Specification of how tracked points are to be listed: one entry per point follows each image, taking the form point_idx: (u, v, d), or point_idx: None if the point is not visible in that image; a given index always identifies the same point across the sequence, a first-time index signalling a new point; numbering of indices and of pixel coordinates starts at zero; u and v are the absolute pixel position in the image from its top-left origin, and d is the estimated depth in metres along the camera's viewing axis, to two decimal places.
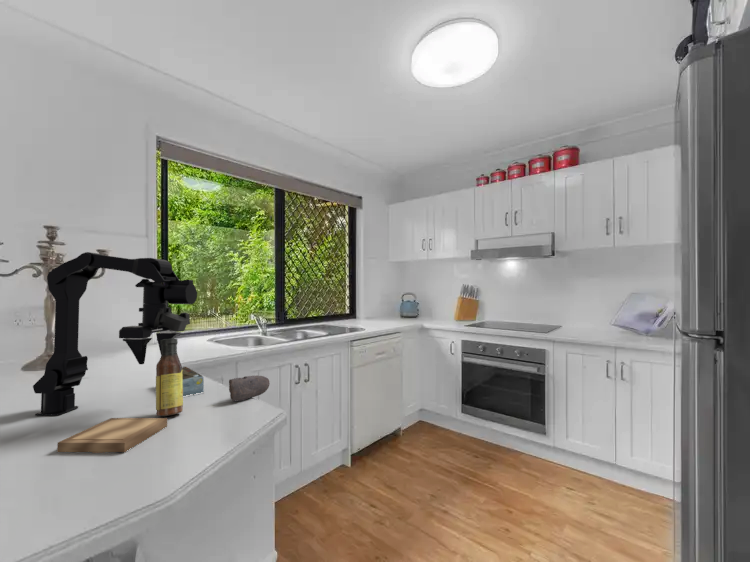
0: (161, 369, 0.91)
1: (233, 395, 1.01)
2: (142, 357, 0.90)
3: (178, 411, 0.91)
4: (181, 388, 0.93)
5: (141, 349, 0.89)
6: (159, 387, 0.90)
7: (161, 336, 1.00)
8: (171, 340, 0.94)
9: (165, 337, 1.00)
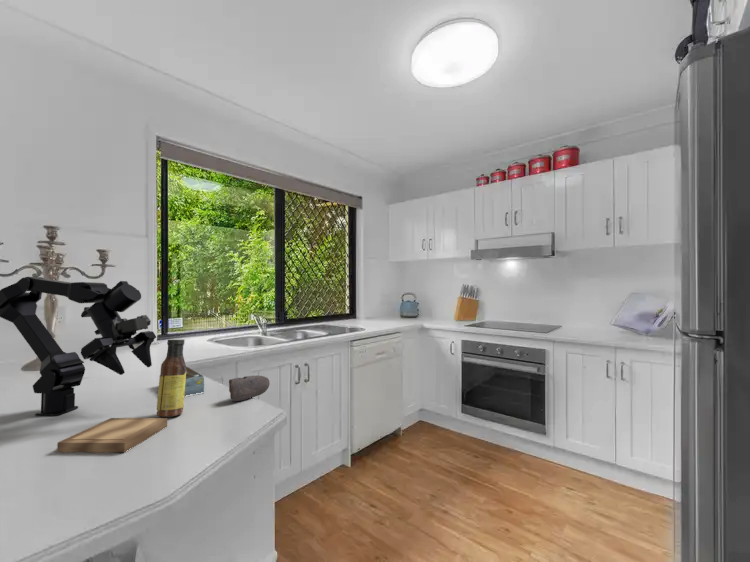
0: (165, 369, 0.90)
1: (233, 395, 1.01)
2: (118, 366, 0.88)
3: (178, 413, 0.91)
4: (183, 390, 0.93)
5: (112, 359, 0.87)
6: (162, 388, 0.90)
7: (137, 350, 0.98)
8: (178, 341, 0.93)
9: (140, 349, 0.98)
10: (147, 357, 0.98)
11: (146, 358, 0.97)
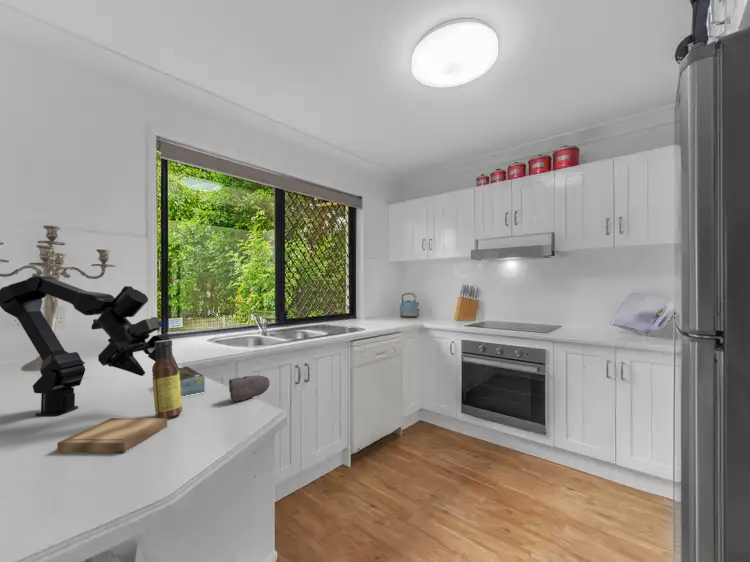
0: (157, 372, 0.89)
1: (233, 395, 1.01)
2: (138, 368, 0.87)
3: (177, 413, 0.91)
4: (179, 390, 0.92)
5: (131, 362, 0.87)
6: (156, 391, 0.89)
7: (153, 354, 0.98)
8: (165, 342, 0.91)
9: None
10: None
11: None
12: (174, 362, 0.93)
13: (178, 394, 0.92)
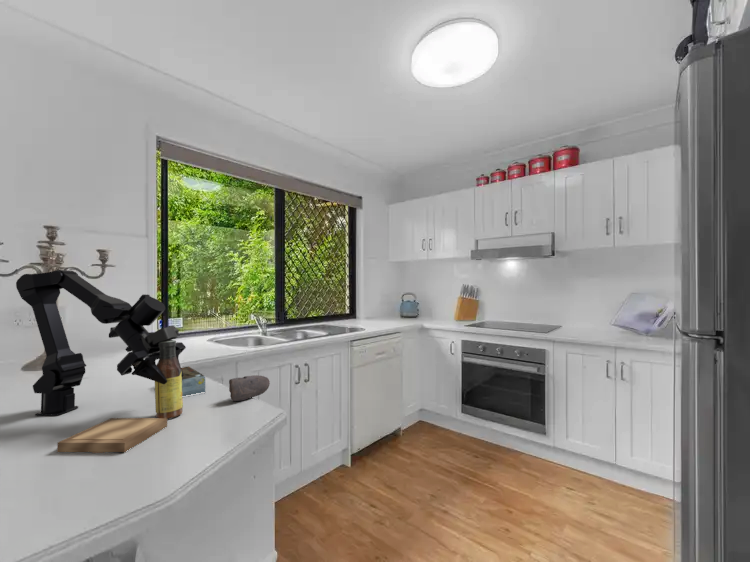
0: None
1: (233, 395, 1.01)
2: (161, 376, 0.88)
3: (177, 414, 0.91)
4: (180, 391, 0.92)
5: (154, 370, 0.88)
6: (158, 391, 0.89)
7: None
8: (169, 343, 0.91)
9: None
10: None
11: None
12: (177, 363, 0.92)
13: (179, 395, 0.91)
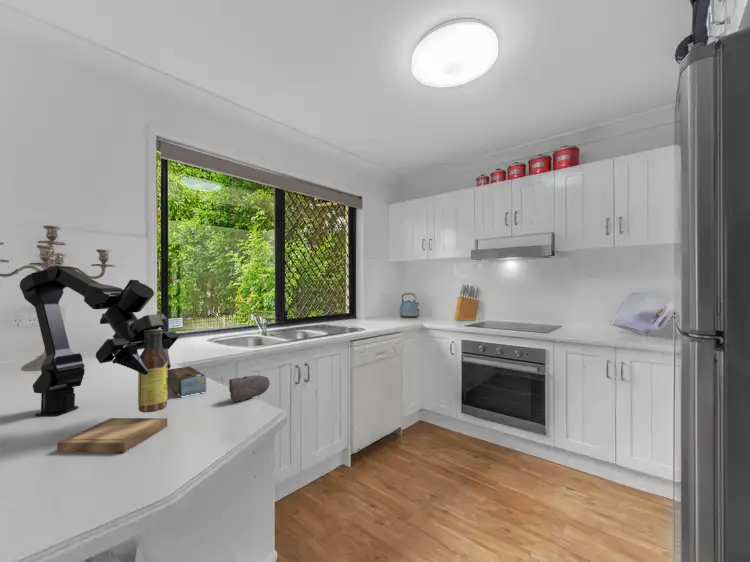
0: None
1: (233, 395, 1.01)
2: (141, 366, 0.83)
3: (159, 408, 0.85)
4: (164, 383, 0.86)
5: (134, 359, 0.83)
6: (140, 382, 0.84)
7: None
8: (153, 332, 0.86)
9: None
10: None
11: None
12: (162, 353, 0.87)
13: (162, 388, 0.85)
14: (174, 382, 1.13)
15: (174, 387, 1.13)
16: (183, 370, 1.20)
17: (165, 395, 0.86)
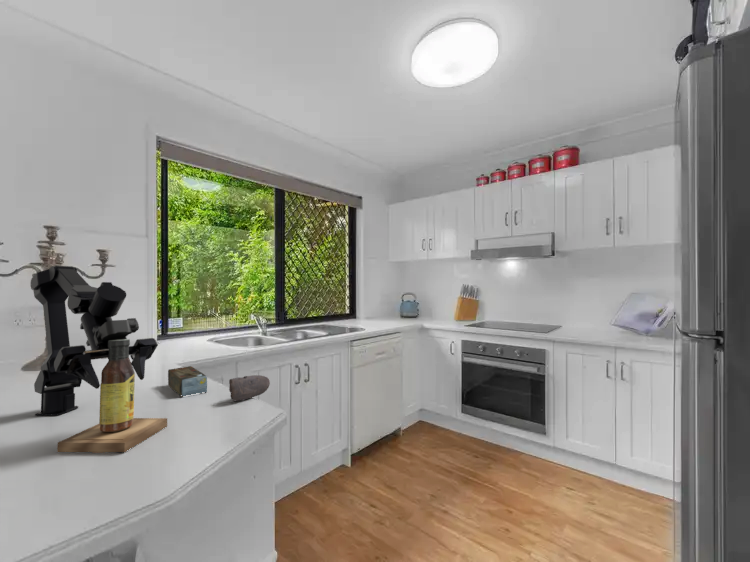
0: (102, 376, 0.76)
1: (233, 395, 1.01)
2: (92, 378, 0.73)
3: (119, 428, 0.76)
4: (126, 401, 0.77)
5: (86, 371, 0.74)
6: (100, 398, 0.76)
7: (134, 361, 0.84)
8: (115, 342, 0.77)
9: (136, 359, 0.84)
10: (140, 368, 0.82)
11: (139, 369, 0.82)
12: (126, 367, 0.78)
13: (123, 406, 0.76)
14: (175, 382, 1.13)
15: (175, 387, 1.14)
16: (184, 370, 1.20)
17: (127, 414, 0.77)
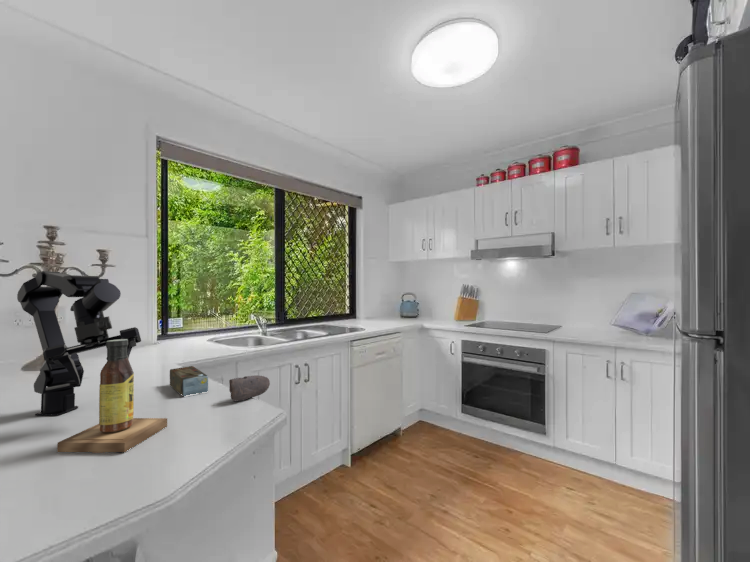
0: (101, 377, 0.76)
1: (233, 395, 1.01)
2: (72, 377, 0.82)
3: (118, 429, 0.76)
4: (125, 401, 0.77)
5: None
6: (99, 398, 0.76)
7: None
8: (113, 343, 0.77)
9: None
10: None
11: None
12: (124, 367, 0.78)
13: (122, 406, 0.76)
14: (176, 382, 1.14)
15: (176, 387, 1.14)
16: (186, 370, 1.20)
17: (127, 414, 0.77)
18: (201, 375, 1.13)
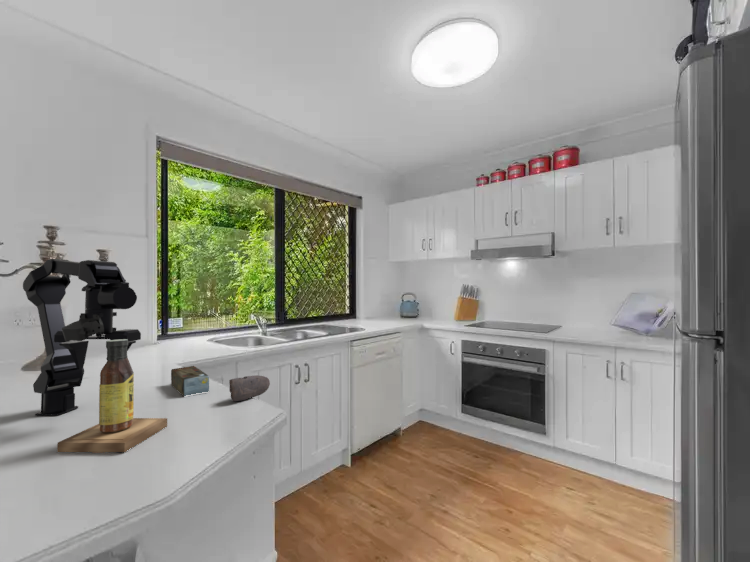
0: (101, 377, 0.76)
1: (234, 395, 1.01)
2: None
3: (118, 429, 0.76)
4: (125, 401, 0.77)
5: None
6: (99, 398, 0.76)
7: None
8: (113, 343, 0.77)
9: None
10: None
11: None
12: (124, 367, 0.78)
13: (122, 406, 0.76)
14: (178, 381, 1.14)
15: (178, 386, 1.14)
16: (187, 370, 1.20)
17: (127, 414, 0.77)
18: (202, 375, 1.13)
